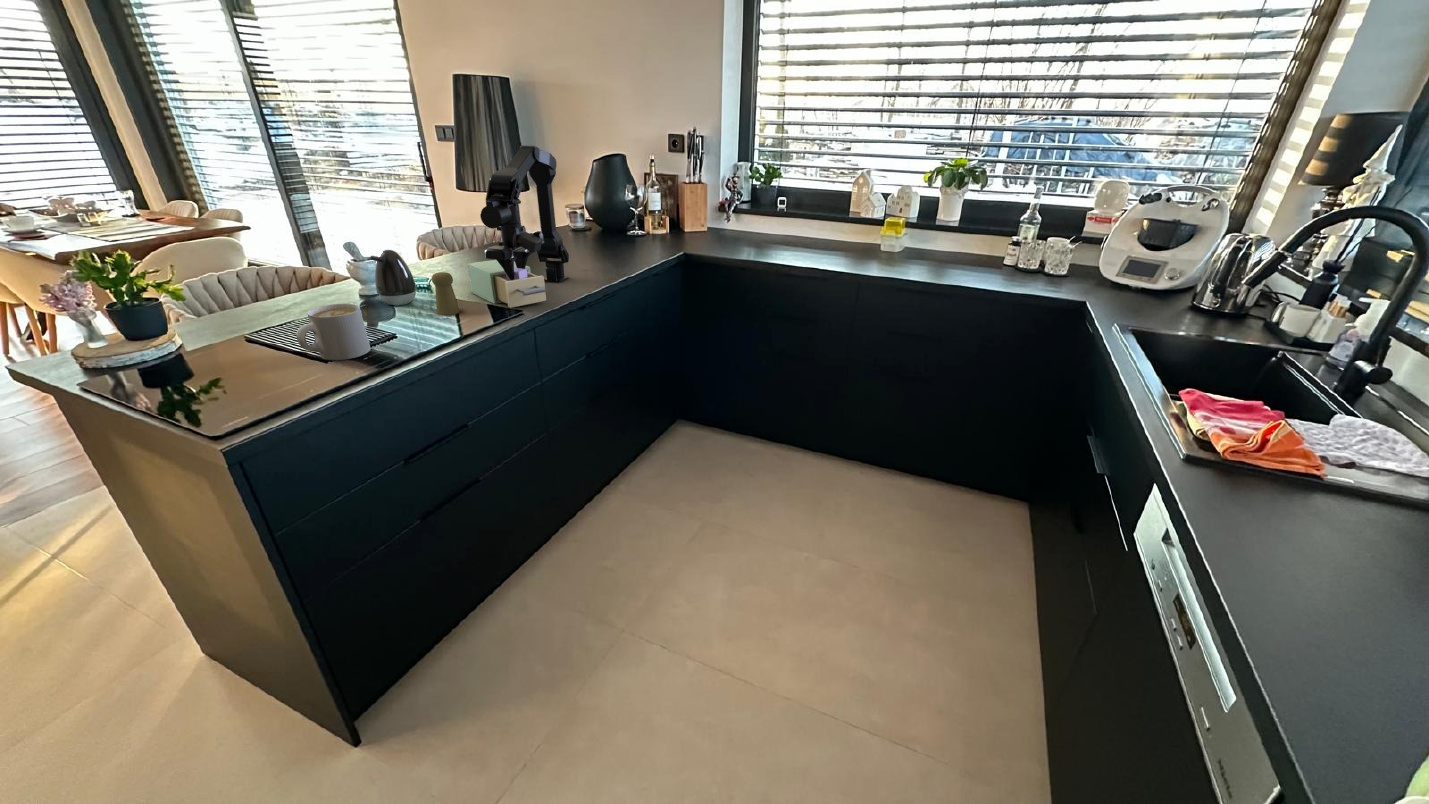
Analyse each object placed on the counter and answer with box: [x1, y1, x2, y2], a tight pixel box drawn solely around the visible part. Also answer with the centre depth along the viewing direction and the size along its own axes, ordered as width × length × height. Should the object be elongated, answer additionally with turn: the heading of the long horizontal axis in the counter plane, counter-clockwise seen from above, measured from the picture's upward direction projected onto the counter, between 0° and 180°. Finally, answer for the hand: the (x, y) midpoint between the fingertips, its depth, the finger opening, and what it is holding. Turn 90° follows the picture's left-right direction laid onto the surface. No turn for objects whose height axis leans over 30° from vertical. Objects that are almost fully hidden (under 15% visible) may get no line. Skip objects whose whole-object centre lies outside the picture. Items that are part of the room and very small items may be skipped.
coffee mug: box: [296, 303, 372, 361], centre depth 124 cm, size 13×10×10 cm
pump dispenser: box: [369, 249, 418, 306], centre depth 157 cm, size 10×10×15 cm
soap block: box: [506, 268, 528, 281], centre depth 162 cm, size 4×4×4 cm
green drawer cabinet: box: [467, 259, 532, 305], centre depth 170 cm, size 15×13×9 cm
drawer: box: [493, 272, 547, 309], centre depth 163 cm, size 18×11×7 cm, turn 45°
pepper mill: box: [431, 271, 461, 316], centre depth 153 cm, size 6×6×11 cm
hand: (517, 277), depth 162 cm, fingers open, 5 cm apart
